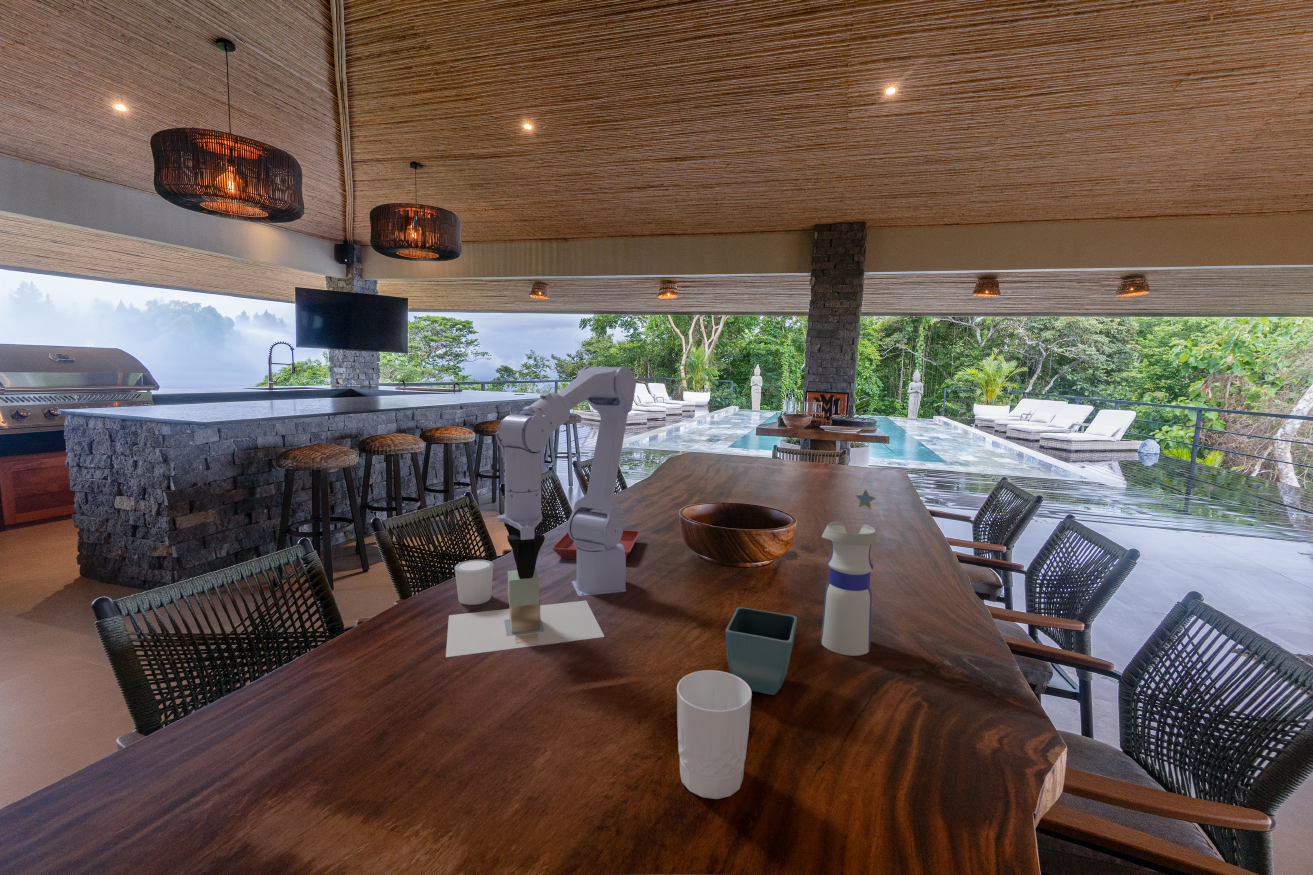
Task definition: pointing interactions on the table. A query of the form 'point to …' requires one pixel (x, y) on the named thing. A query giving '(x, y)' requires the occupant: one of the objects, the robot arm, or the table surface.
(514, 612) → the maple block
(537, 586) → the sage block
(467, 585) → the white tumbler
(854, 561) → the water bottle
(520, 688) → the table surface
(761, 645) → the flower pot
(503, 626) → the blueprint baseplate
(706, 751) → the white cup
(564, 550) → the plant saucer
